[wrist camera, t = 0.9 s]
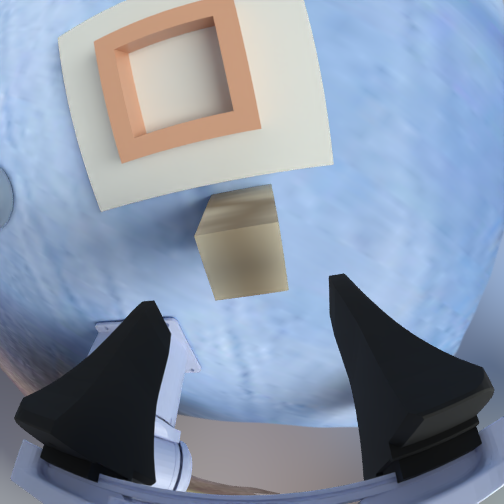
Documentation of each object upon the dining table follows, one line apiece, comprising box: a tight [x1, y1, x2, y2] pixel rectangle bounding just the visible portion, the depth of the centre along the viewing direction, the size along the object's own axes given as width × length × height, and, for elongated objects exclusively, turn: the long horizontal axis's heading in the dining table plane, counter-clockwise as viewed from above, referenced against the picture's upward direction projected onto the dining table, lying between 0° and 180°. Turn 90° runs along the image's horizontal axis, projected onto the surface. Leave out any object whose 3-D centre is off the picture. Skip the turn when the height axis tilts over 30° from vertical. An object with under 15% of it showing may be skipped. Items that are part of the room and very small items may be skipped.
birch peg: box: [194, 184, 289, 300], centre depth 16 cm, size 4×4×6 cm
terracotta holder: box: [94, 0, 262, 164], centre depth 12 cm, size 8×8×2 cm
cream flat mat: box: [58, 0, 333, 212], centre depth 14 cm, size 16×14×1 cm
